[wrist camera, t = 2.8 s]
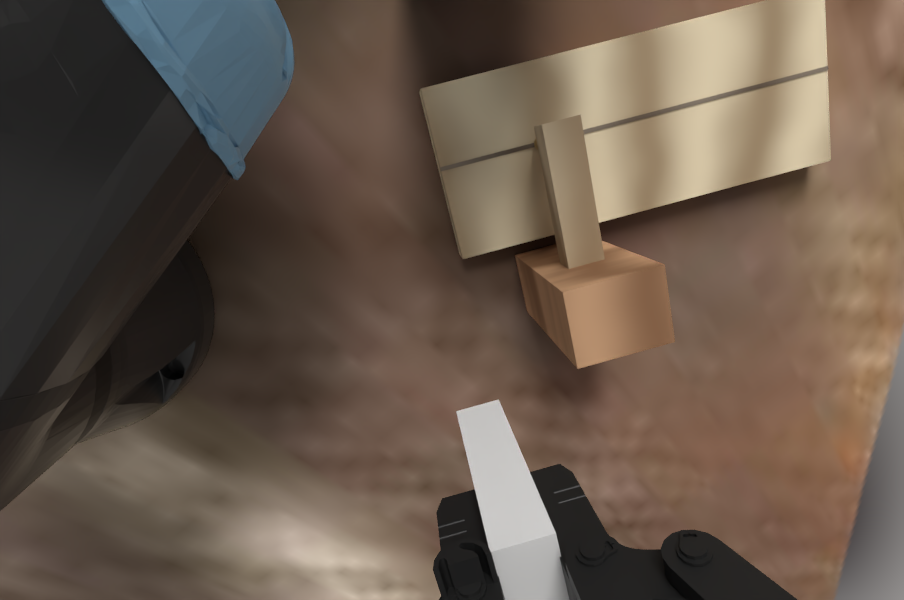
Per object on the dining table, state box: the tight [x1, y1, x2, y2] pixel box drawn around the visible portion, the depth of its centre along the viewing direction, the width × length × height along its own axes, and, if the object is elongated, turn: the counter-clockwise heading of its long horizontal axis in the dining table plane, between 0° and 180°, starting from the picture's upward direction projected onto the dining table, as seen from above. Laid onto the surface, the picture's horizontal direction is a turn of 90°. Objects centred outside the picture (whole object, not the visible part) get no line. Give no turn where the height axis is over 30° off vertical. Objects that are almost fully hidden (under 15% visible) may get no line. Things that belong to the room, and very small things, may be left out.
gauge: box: [515, 115, 675, 369], centre depth 28 cm, size 5×12×10 cm, turn 14°
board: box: [419, 0, 831, 259], centre depth 31 cm, size 24×10×2 cm, turn 104°
